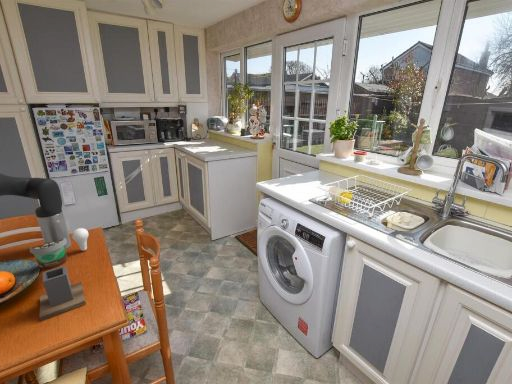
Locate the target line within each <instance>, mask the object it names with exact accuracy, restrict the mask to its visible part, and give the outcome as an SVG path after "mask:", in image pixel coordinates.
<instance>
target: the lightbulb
mask: <svg viewBox="0 0 512 384" xmlns="http://www.w3.org/2000/svg"><path fill="white" fill-rule="evenodd" d="M71 238H72V240H73V241H74V242H76V243H77V245H78V247H79V249H80V251H82V252H85V251H86V250H87V249H88V243H87V242H88V238H89V231H88V230H87V229H86V228H82V227H79V228H76V229H75V230H73V232H72V233H71Z"/></svg>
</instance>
